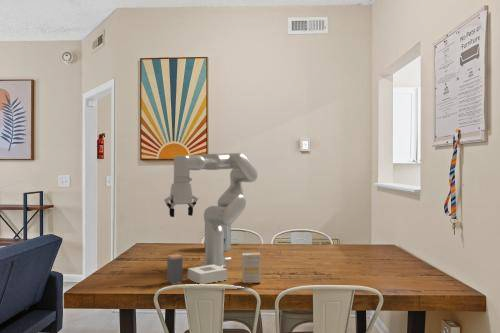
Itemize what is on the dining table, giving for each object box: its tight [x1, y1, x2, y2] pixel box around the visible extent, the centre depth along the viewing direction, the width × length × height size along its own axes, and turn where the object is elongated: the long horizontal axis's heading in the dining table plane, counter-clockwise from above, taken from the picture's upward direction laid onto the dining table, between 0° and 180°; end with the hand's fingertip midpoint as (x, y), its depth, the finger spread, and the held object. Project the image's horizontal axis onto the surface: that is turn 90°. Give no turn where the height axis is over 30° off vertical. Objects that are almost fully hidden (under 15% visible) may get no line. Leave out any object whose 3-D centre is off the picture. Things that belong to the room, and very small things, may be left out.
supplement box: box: [241, 252, 262, 285], centre depth 183 cm, size 8×5×13 cm, turn 92°
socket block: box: [187, 264, 228, 285], centre depth 186 cm, size 14×12×5 cm
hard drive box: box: [204, 224, 232, 252], centre depth 257 cm, size 16×8×20 cm, turn 73°
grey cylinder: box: [166, 253, 183, 285], centre depth 182 cm, size 5×5×12 cm
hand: (181, 216), depth 195 cm, fingers open, 9 cm apart
